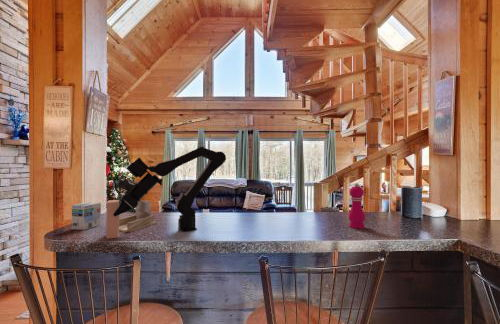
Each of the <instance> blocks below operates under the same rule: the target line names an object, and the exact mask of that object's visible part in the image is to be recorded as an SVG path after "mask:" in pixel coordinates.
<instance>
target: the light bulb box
mask: <svg viewBox="0 0 500 324" xmlns="http://www.w3.org/2000/svg"><path fill="white" fill-rule="evenodd" d="M101 206H102V205H101V202H96V201H95V202H92V201H89V202H83V203H78V204H72V205H71V230H82V231H85V230H87V229H91V228H94V227H95V226H96V227H99V226H101V224H102V223H101V222H102V221H101V219H102V217H101V216H102V212H101V211H102V210H101V209H102V207H101Z"/></svg>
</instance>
